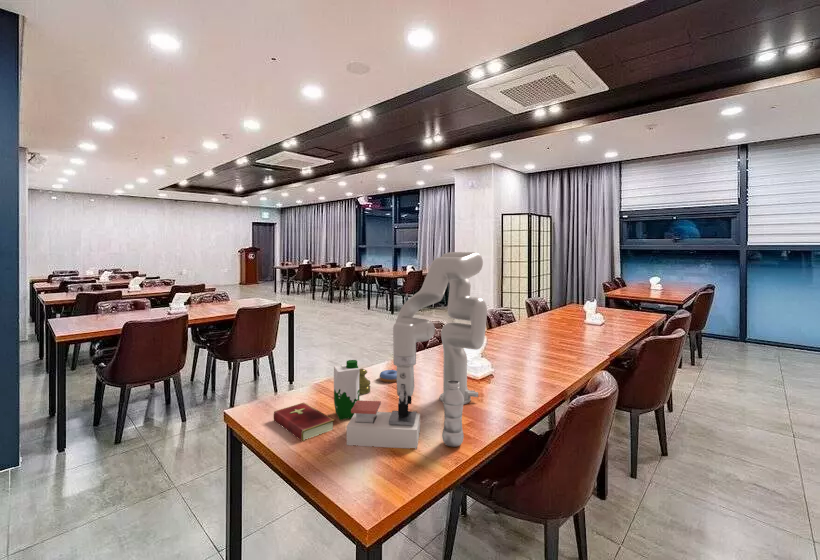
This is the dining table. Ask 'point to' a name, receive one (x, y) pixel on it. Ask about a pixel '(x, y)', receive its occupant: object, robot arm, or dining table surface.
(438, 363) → the dining table surface
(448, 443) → the plastic bottle
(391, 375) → the doughnut
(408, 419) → the grey square push button
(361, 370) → the gold rounded piece
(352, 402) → the milk carton
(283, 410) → the hardcover book
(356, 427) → the white button box
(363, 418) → the red square push button
